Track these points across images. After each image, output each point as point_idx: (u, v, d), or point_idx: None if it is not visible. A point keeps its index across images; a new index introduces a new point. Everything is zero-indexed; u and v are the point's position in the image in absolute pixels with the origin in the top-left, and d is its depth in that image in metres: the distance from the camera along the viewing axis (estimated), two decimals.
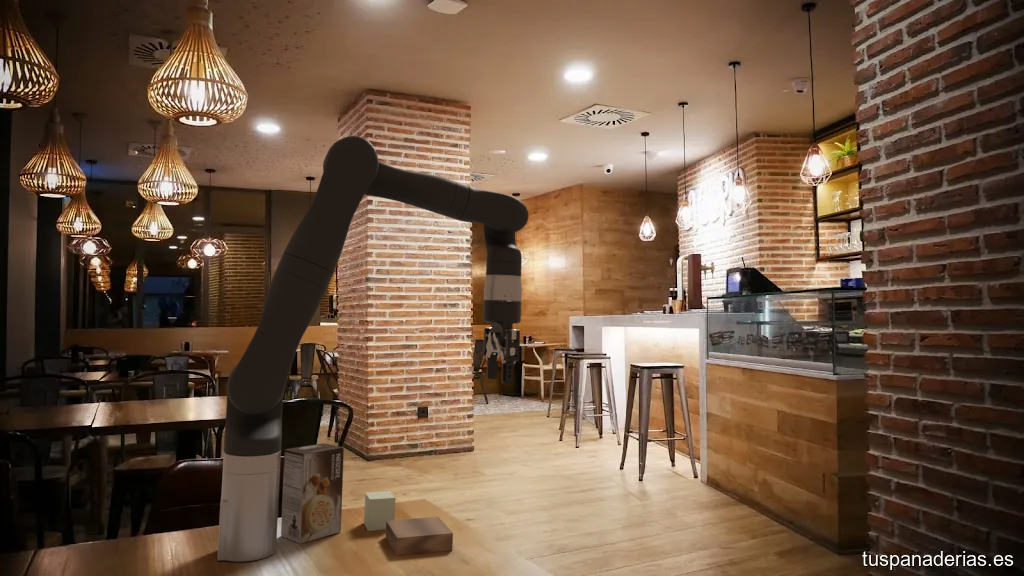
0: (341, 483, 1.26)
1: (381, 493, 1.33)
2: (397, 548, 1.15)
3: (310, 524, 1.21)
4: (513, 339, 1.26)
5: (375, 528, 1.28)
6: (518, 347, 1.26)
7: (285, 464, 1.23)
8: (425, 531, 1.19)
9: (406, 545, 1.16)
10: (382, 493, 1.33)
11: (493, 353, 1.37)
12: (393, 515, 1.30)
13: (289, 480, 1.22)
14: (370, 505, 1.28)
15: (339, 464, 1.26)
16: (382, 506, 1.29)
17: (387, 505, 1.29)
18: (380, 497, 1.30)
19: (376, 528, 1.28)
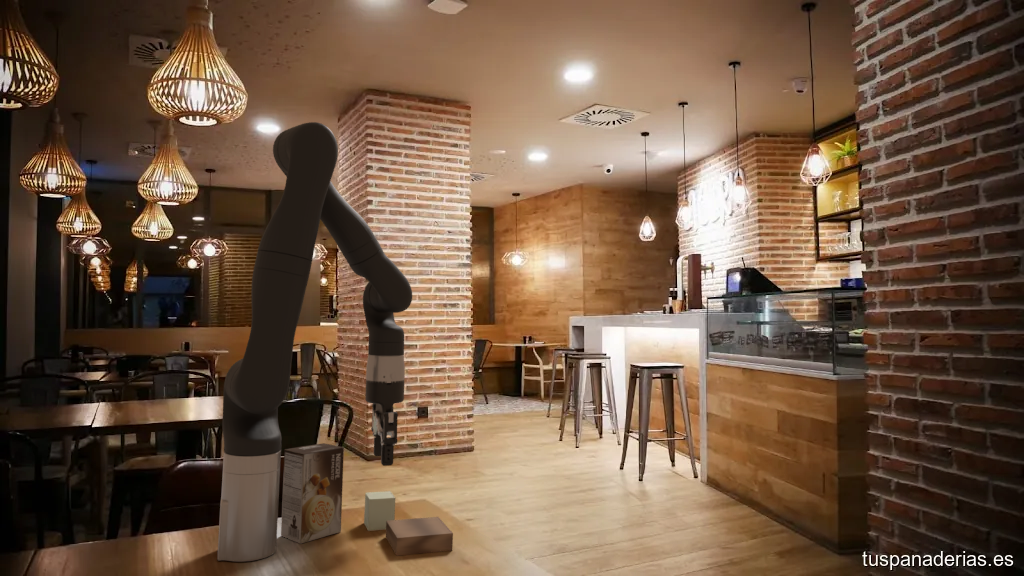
0: (341, 483, 1.26)
1: (381, 493, 1.33)
2: (397, 548, 1.15)
3: (310, 524, 1.21)
4: (390, 422, 1.26)
5: (375, 528, 1.28)
6: (395, 430, 1.26)
7: (285, 464, 1.23)
8: (425, 531, 1.19)
9: (406, 545, 1.16)
10: (382, 493, 1.33)
11: None
12: (393, 515, 1.30)
13: (289, 480, 1.22)
14: (370, 505, 1.28)
15: (339, 464, 1.26)
16: (382, 506, 1.29)
17: (387, 505, 1.29)
18: (380, 497, 1.30)
19: (376, 528, 1.28)
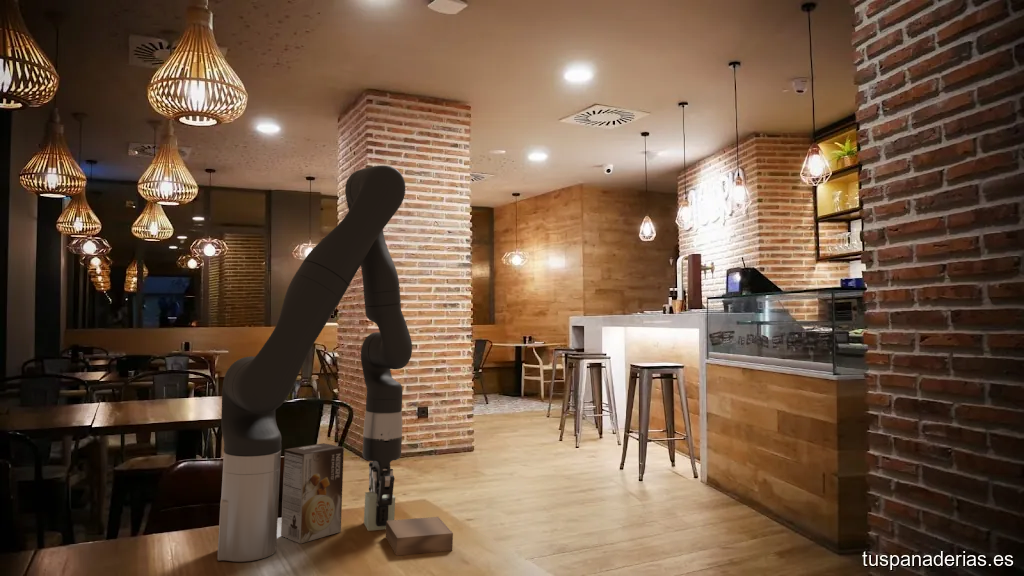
0: (341, 483, 1.26)
1: None
2: (397, 548, 1.15)
3: (310, 524, 1.21)
4: (386, 486, 1.26)
5: (375, 528, 1.28)
6: (391, 494, 1.26)
7: (285, 464, 1.23)
8: (425, 531, 1.19)
9: (406, 545, 1.16)
10: None
11: None
12: (393, 515, 1.30)
13: (289, 480, 1.22)
14: (370, 505, 1.28)
15: (339, 464, 1.26)
16: None
17: None
18: None
19: (376, 528, 1.28)
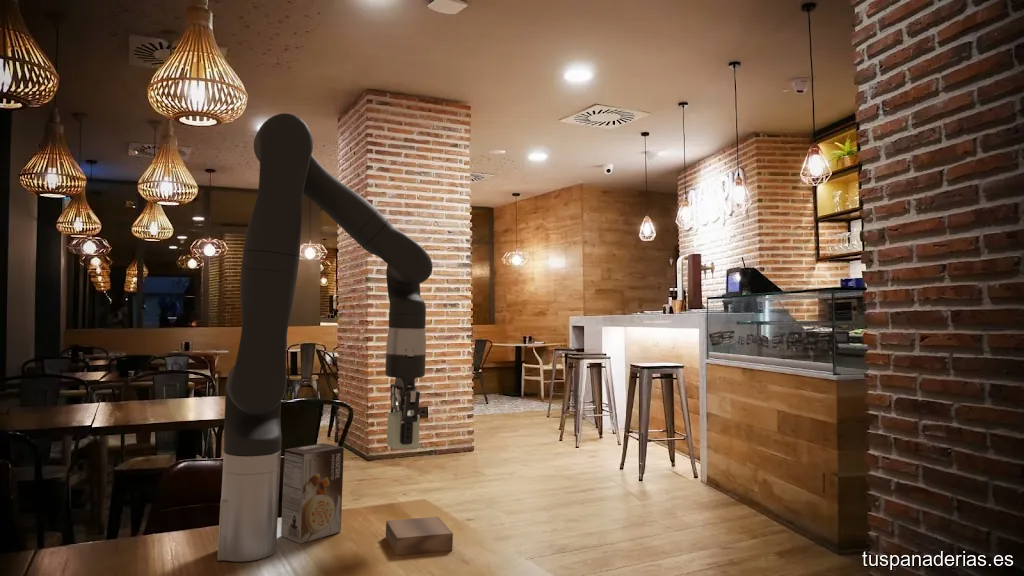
0: (341, 483, 1.26)
1: None
2: (397, 548, 1.15)
3: (310, 524, 1.21)
4: (412, 402, 1.22)
5: (399, 446, 1.25)
6: (416, 409, 1.22)
7: (285, 464, 1.23)
8: (425, 531, 1.19)
9: (406, 545, 1.16)
10: None
11: None
12: (417, 434, 1.26)
13: (289, 480, 1.22)
14: (394, 422, 1.24)
15: (339, 464, 1.26)
16: None
17: None
18: None
19: (400, 446, 1.25)
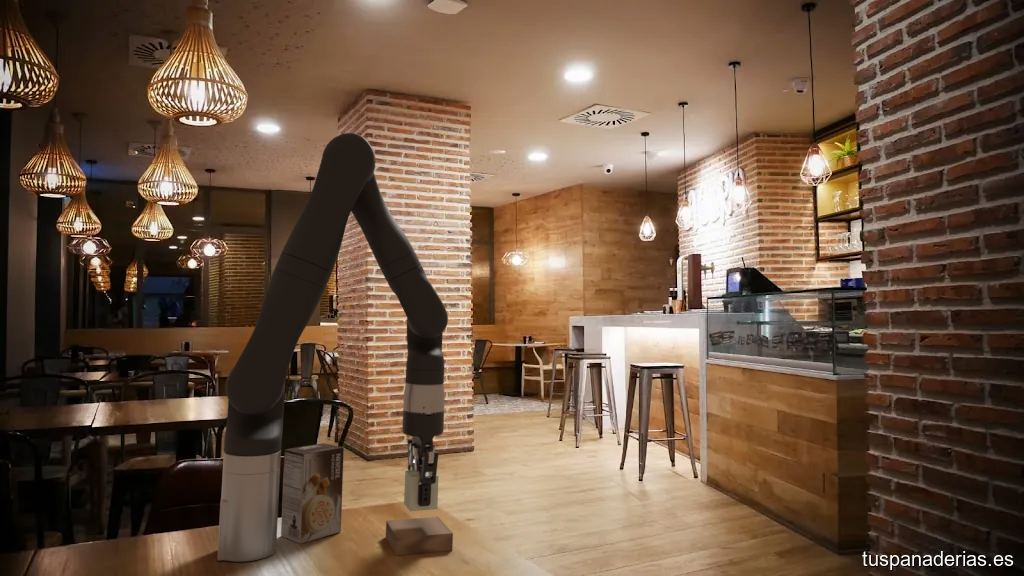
0: (341, 483, 1.26)
1: None
2: (397, 548, 1.15)
3: (310, 524, 1.21)
4: (430, 463, 1.17)
5: (417, 508, 1.19)
6: (435, 471, 1.17)
7: (285, 464, 1.23)
8: (425, 531, 1.19)
9: (406, 545, 1.16)
10: None
11: None
12: (436, 494, 1.21)
13: (289, 480, 1.22)
14: (412, 483, 1.19)
15: (339, 464, 1.26)
16: None
17: None
18: None
19: (418, 508, 1.19)
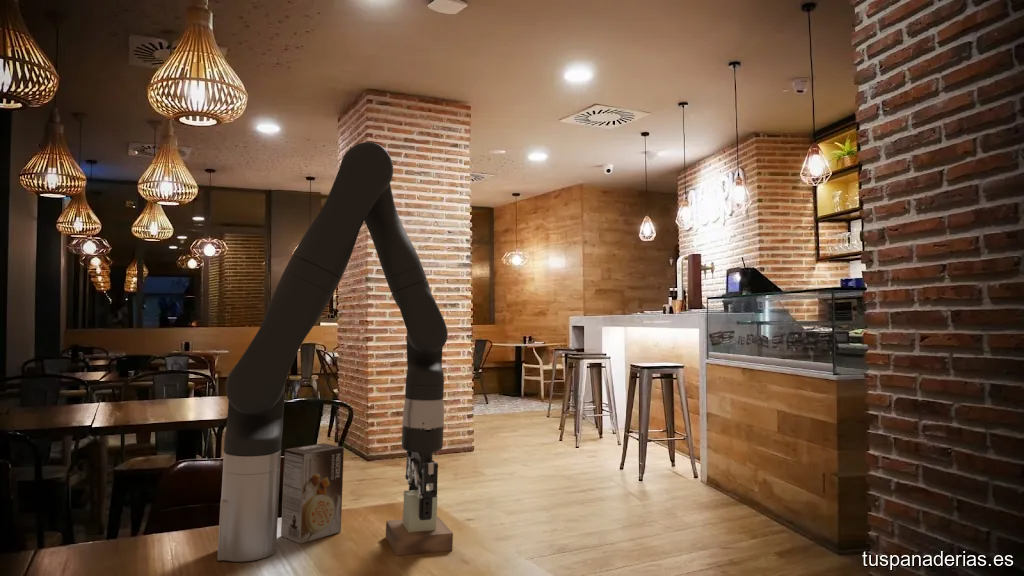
0: (341, 483, 1.26)
1: None
2: (397, 548, 1.15)
3: (310, 524, 1.21)
4: (430, 474, 1.16)
5: (416, 529, 1.19)
6: (436, 482, 1.16)
7: (285, 464, 1.23)
8: (425, 531, 1.19)
9: (406, 545, 1.16)
10: None
11: None
12: (435, 515, 1.20)
13: (289, 480, 1.22)
14: (411, 504, 1.19)
15: (339, 464, 1.26)
16: None
17: None
18: None
19: (417, 529, 1.19)
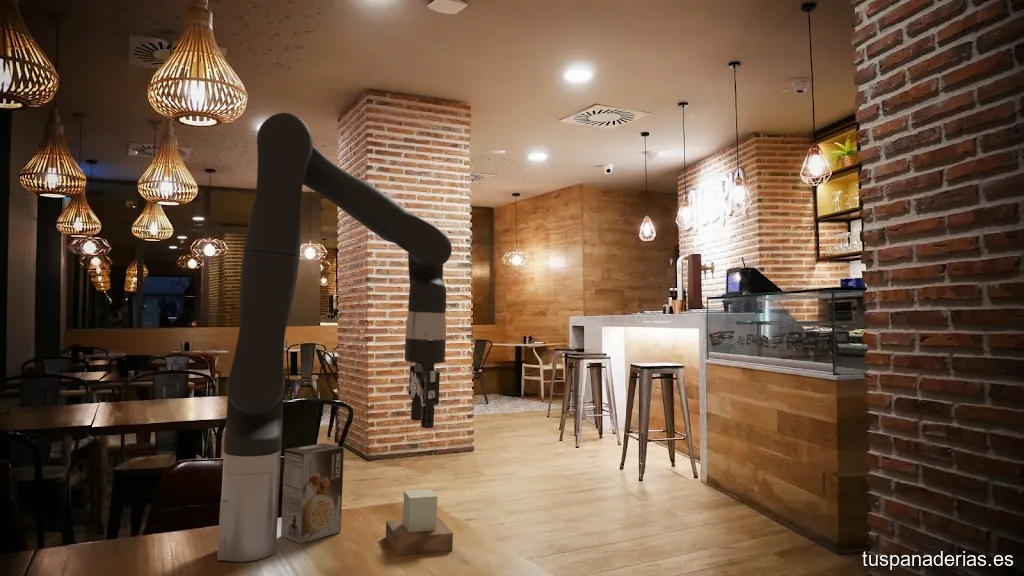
0: (341, 483, 1.26)
1: (421, 491, 1.23)
2: (397, 548, 1.15)
3: (310, 524, 1.21)
4: (432, 381, 1.18)
5: (416, 529, 1.19)
6: (437, 390, 1.19)
7: (285, 464, 1.23)
8: (425, 531, 1.19)
9: (406, 545, 1.16)
10: (422, 491, 1.23)
11: None
12: (435, 515, 1.20)
13: (290, 480, 1.22)
14: (411, 504, 1.19)
15: (339, 464, 1.26)
16: (423, 505, 1.20)
17: (429, 504, 1.20)
18: (421, 496, 1.20)
19: (417, 529, 1.19)
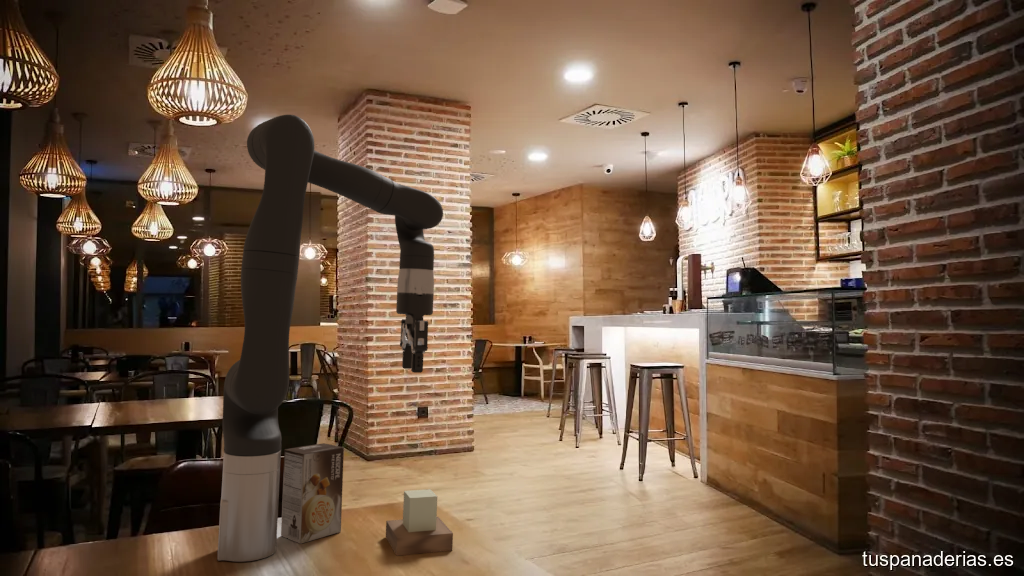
0: (341, 483, 1.26)
1: (421, 491, 1.23)
2: (397, 548, 1.15)
3: (310, 524, 1.21)
4: (421, 330, 1.31)
5: (416, 529, 1.19)
6: (426, 337, 1.31)
7: (285, 464, 1.23)
8: (425, 531, 1.19)
9: (406, 545, 1.16)
10: (422, 491, 1.23)
11: (409, 344, 1.42)
12: (435, 515, 1.20)
13: (289, 480, 1.22)
14: (411, 504, 1.19)
15: (339, 464, 1.26)
16: (423, 505, 1.20)
17: (429, 504, 1.20)
18: (421, 496, 1.20)
19: (417, 529, 1.19)
